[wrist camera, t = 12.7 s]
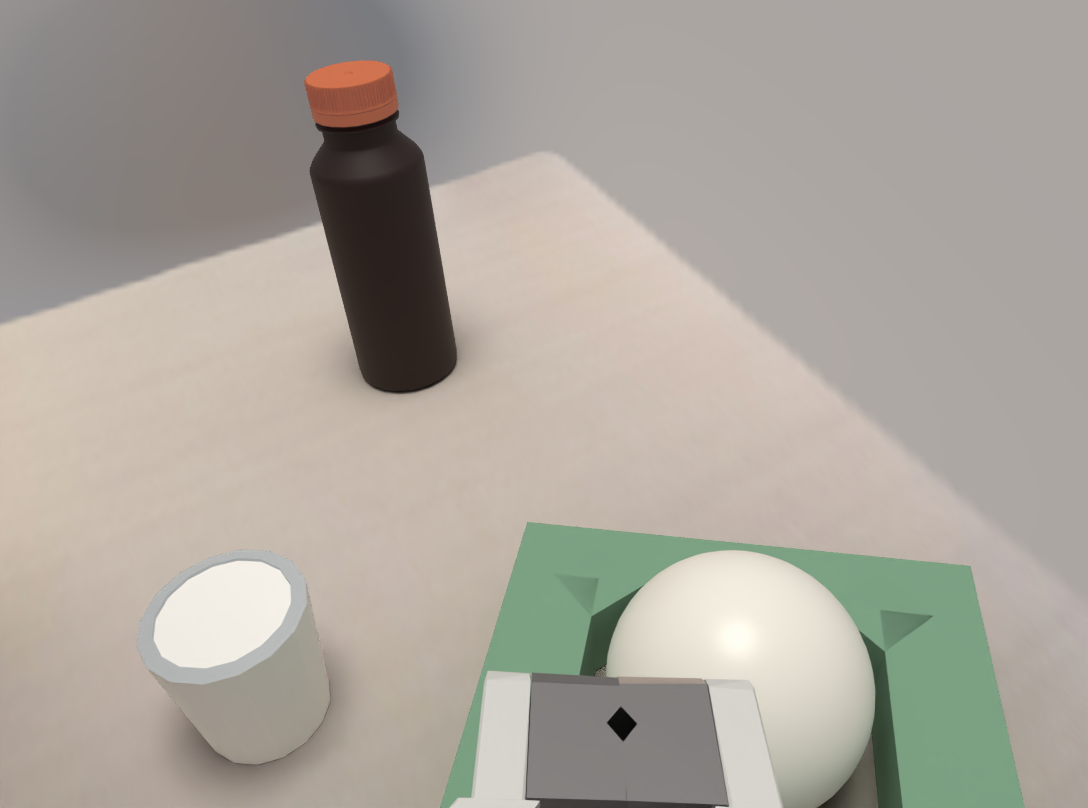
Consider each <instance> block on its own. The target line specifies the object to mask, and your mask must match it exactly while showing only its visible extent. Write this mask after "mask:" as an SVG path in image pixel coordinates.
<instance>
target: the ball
mask: <svg viewBox="0 0 1088 808" xmlns="http://www.w3.org/2000/svg"><path fill="white" fill-rule="evenodd" d="M617 676H618V677H662V678H702V679H703V680H705V679H728V680H749V681H750V683H751V684H752V685H753V687H754V689H755V694H756V698H757V702H758V706H759V710H760V714H761V718H762V722H763V726H764V730H765V735H766V739H767V743H768V747H769V751H770V755H771V759H772V763H773V767H774V772H775V776H776V780H777V784H778V788H779V792H780V796H781V800H782V804H783V808H817V807H819V806H820V805H822V804H823V803H824V802H826V801H827V800H828V799H830V798H831V797H832V796H834V795H835V793H836V792H837V791H838V790H839V789H840V788H841V787H842V786H843V785H844V784H845V783H846V781H847V780H848V779H849V778H850V777H851V775H852V773H853V772H854V770H855V768H856V767H857V765H858V763H859V762H860V760H861V758H862V757H863V754H864V752H865V749H866V746H867V744H868V741H869V738H870V735H871V731H872V726H873V721H874V714H875V683H874V676H873V670H872V665H871V661H870V658H869V654H868V651H867V648H866V646H865V644H864V641H863V639H862V637H861V635H860V633H859V630H858V628H857V626H856V625H855V623H854V621H853V620H852V618H851V617H850V615H849V614H848V612H847V611H846V609H845V608H844V607H843V605H842V604H841V603H840V602H839V601H838V600H837V599H836V597H835V596H834V595H833V594H832V593H831V592H830V591H829V590H828V589H827V588H826V587H824V586H823V585H822V584H821V583H820V582H818V581H817V580H816V579H815V578H813V577H812V576H811V575H809V574H807V573H806V572H804V571H802V570H801V569H799V568H797V567H795V566H794V565H792V564H790V563H788V562H785V561H783V560H780V559H777V558H774V557H771V556H768V555H764V554H761V553H756V552H750V551H741V550H724V551H714V552H707V553H702V554H698V555H695V556H692V557H689V558H686V559H684V560H681V561H679V562H677V563H675V564H673V565H671V566H669V567H668V568H666V569H664V570H663V571H661V572H659V573H658V574H657V575H655V576H654V577H653V578H652V579H651V580H649V581H648V582H647V583H646V584H645V585H644V586H643V587H642V588H641V589H640V590H639V591H638V592H637V594H636V595H635V596H634V597H633V598H632V599H631V601H630V602H629V604H628V605H627V607H626V609H625V610H624V612H623V614H622V615H621V617H620V619H619V621H618V623H617V626H616V628H615V631H614V633H613V636H612V639H611V643H610V647H609V651H608V655H607V666H606V677H616V678H617Z"/></svg>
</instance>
